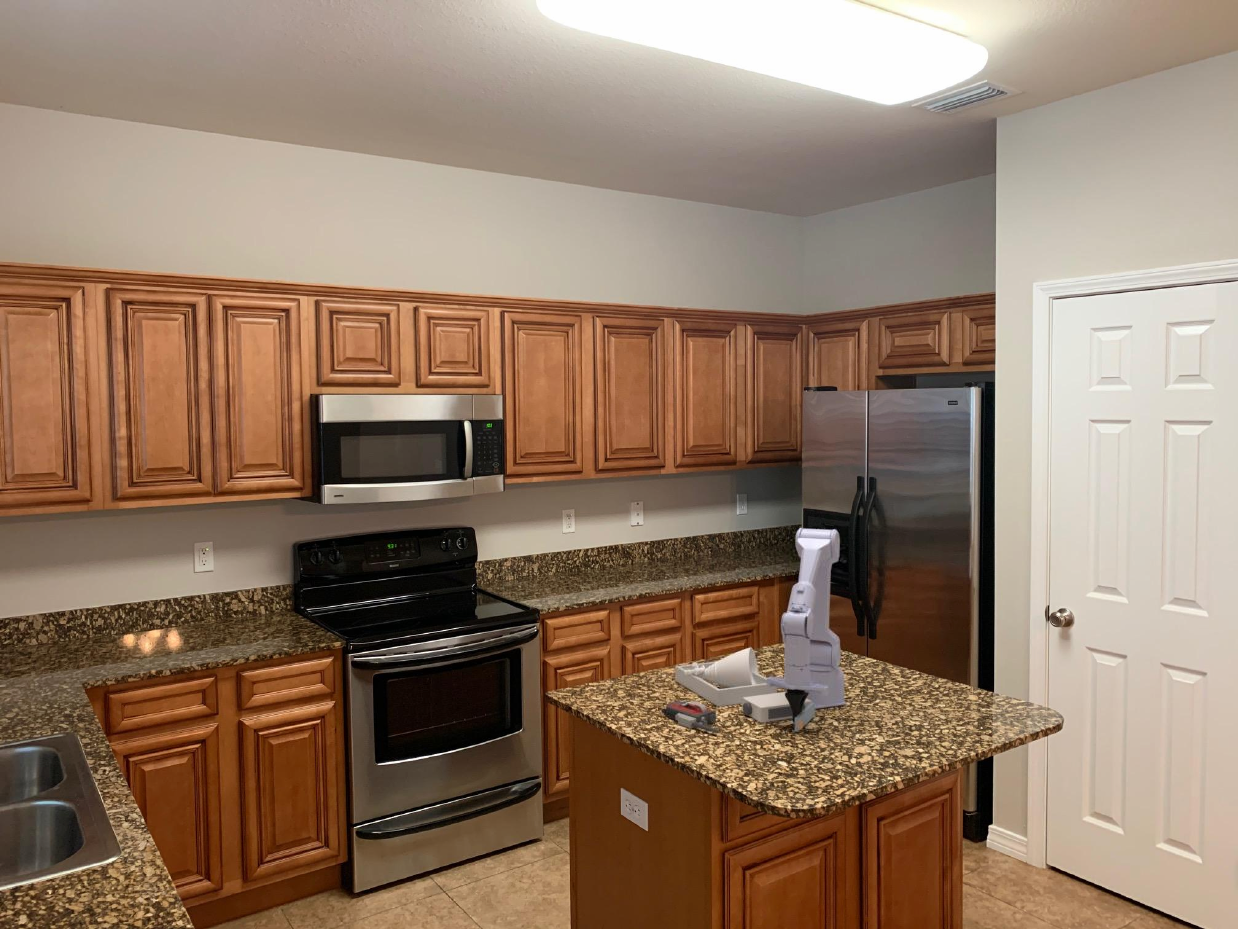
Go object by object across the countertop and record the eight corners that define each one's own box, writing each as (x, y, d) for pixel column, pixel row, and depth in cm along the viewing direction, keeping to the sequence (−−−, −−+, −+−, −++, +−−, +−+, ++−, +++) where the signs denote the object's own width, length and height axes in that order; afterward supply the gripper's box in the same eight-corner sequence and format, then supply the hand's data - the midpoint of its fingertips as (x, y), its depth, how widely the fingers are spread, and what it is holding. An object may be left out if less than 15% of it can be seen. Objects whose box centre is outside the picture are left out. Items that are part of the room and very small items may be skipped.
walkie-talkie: (654, 718, 225) (714, 739, 209) (654, 700, 224) (714, 719, 209) (680, 710, 230) (741, 730, 215) (680, 692, 230) (741, 711, 215)
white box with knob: (791, 704, 233) (791, 691, 233) (811, 715, 224) (812, 701, 224) (738, 712, 227) (738, 698, 227) (757, 723, 219) (757, 708, 219)
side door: (811, 714, 224) (811, 702, 223) (818, 715, 223) (818, 703, 223) (794, 731, 212) (794, 718, 212) (801, 732, 211) (801, 719, 211)
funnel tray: (730, 674, 261) (730, 660, 261) (777, 698, 238) (777, 683, 238) (675, 680, 255) (675, 666, 255) (717, 706, 232) (717, 690, 232)
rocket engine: (681, 645, 248) (748, 639, 243) (693, 667, 256) (758, 661, 251) (680, 685, 240) (748, 679, 235) (692, 706, 248) (758, 700, 243)
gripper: (760, 662, 216) (760, 720, 217) (819, 672, 207) (819, 732, 208) (774, 656, 222) (774, 712, 222) (832, 665, 213) (832, 723, 214)
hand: (797, 721), depth 216 cm, fingers closed, pressing on side door
